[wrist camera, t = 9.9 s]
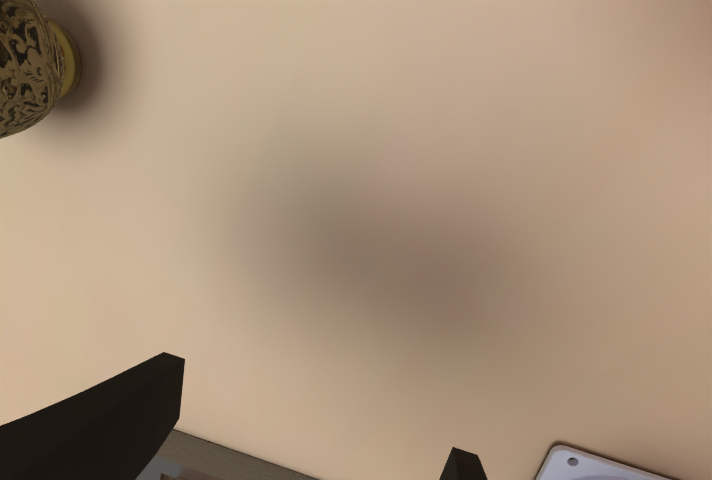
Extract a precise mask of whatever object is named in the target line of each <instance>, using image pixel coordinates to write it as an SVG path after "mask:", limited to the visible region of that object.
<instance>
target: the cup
mask: <svg viewBox="0 0 712 480" xmlns="http://www.w3.org/2000/svg"><path fill="white" fill-rule="evenodd" d="M80 74H81V60H80V55H79V52H78V49H77V47H76V45H75V43H74V41H73V39H72V38H71V37H70V35H69V34H68V33H67V32H66V31H65V30H64V29H63V28H62V27H61V26H60V25H58V24H57V23H56V22H54V21H53V20H51V19H50V18H48V17H46V16H45V15H44V14H43V12H42V11H41V10H40V8H39V7H38V6H37V5H36V4H35V3H34V2H33V1H32V0H0V139H1V138H4V137H7V136H10V135H13V134H16V133H19V132H21V131H23V130H26V129H28V128H30V127H32V126H34V125H35V124H36V123H38V122H39V121H40V120H42V119H43V118H44V117H45V116H46V115H47V114H48V113H49V112H50V111H51V110H52V108H53V107H54V106H55V104H56V102H57V101H58V99H60V98H62V97H64V96H66V95H67V94H68V93H70V92H71V91H72V90H73V89H74V88H75V87H76V85H77V83H78V81H79V78H80Z"/></svg>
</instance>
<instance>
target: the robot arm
mask: <svg viewBox="0 0 712 480" xmlns="http://www.w3.org/2000/svg"><path fill="white" fill-rule="evenodd" d="M184 364H185V359H183V358H180V357H177V356H174V355H171V354H168V353H165V352H163V353H161V354H159V355H157V356H155V357H153V358H151V359H149V360H147V361H145V362H143V363H141V364H138V365H136V366H134V367H132V368H130V369H128V370H126V371H124V372H122V373H120V374H118V375H116V376H114V377H112V378H110V379H108V380H106V381H104V382H102V383H100V384H98V385H95V386H93V387H91V388H89V389H87V390H85V391H83V392H81V393H78V394H76V395H74V396H72V397H69V398H67V399H65V400H62V401H60V402H58V403H55V404H53V405H51V406H48V407H46V408H44V409H42V410H39V411H37V412H35V413H32V414H30V415H27V416H25V417H22V418H20V419H17V420H15V421H12V422H9V423H7V424H4V425H1V426H0V480H135V479H136V478H137V477H138V476H139V475H140V473H141V472H142V471H143V470H144V468H145V467H146V466H147V465H148V464H149V462H150V461H151V460H152V459H153V457H154V456H155V455H156V453H157V452H158V450H159V449H160V447H161V446H162V444H163V443H164V441H165V440H166V438H167V437H168V435H169V434H170V432H171V431H172V429H173V427H174V426H175V424H176V423H177V421H178V420H179V416H180V406H181V395H182V385H183V375H184ZM569 458H575V459H573V460H569ZM439 480H487V477H486V474H485V472H484V469H483V467H482V464H481V461H480V459H479V457H478V455H476V454H473V453H470V452H467V451H464V450H461V449H458V448H455V447H453V448H452V450H451V452H450V455H449V457H448V460H447V462H446V465H445V467H444V470H443V472H442V475H441V477H440V479H439ZM536 480H670V479H667V478H664V477H661V476H658V475H655V474H652V473H648V472H645V471H642V470H639V469H636V468H633V467H630V466H627V465H623V464H620V463H617V462H614V461H611V460H608V459H605V458H602V457H598V456H595V455H592V454H589V453H586V452H583V451H580V450H576V449H573V448H570V447H567V446H563V445H558V446H555V447H553V448H552V449H551V451H550V453H549V455H548V456H547V458H546V460H545V462H544V464H543V466H542V468H541V470H540V472H539V474H538V476H537V478H536Z"/></svg>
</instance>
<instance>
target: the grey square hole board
mask: <svg viewBox="0 0 712 480" xmlns="http://www.w3.org/2000/svg"><path fill="white" fill-rule="evenodd" d="M176 479H179V480H317V479H314V478H311V477H308V476H305V475H303V474H300V473H297V472H294V471H291V470H288V469H285V468H282V467H280V466H277V465H274V464H271V463H268V462H265V461H262V460H259V459H257V458H254V457H251V456H248V455H245V454H242V453H239V452H236V451H234V450H231V449H228V448H225V447H222V446H219V445H216V444H213V443H211V442H208V441H205V440H202V439H199V438H196V437H193V436H190V435H188V434H185V433H182V432H179V431H176V430H173V429H172V431H171V432H170V434H169V435H168V437H167V438H166V440H165V441H164V443H163V444H162V446H161V447H160V449H159V450H158V452H157V453H156V455H155V456H154V457H153V459H152V460H151V461H150V462H149V464H148V465H147V466H146V467H145V468H144V470H143V471H142V472H141V473H140V475H139V476H138V477H137V478H136V479H135V480H176Z"/></svg>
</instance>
